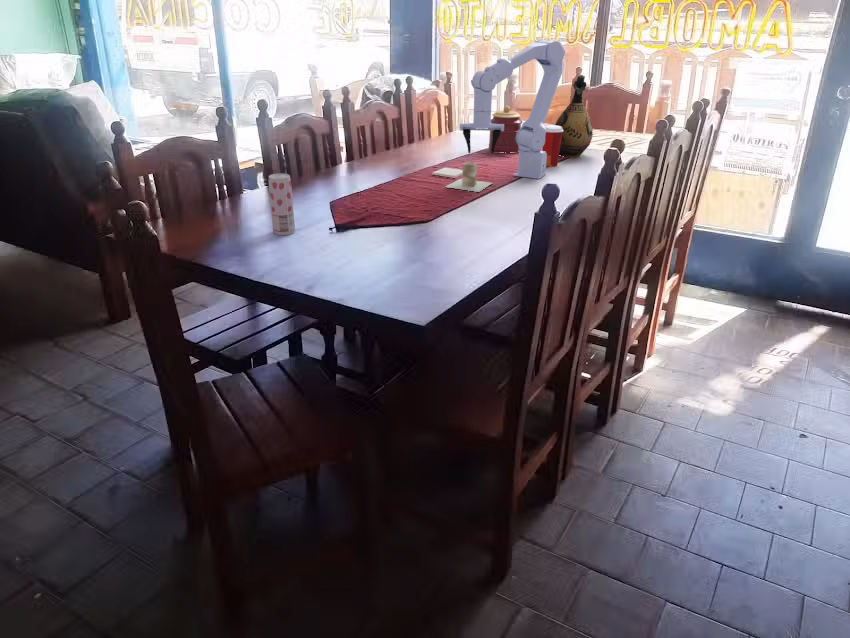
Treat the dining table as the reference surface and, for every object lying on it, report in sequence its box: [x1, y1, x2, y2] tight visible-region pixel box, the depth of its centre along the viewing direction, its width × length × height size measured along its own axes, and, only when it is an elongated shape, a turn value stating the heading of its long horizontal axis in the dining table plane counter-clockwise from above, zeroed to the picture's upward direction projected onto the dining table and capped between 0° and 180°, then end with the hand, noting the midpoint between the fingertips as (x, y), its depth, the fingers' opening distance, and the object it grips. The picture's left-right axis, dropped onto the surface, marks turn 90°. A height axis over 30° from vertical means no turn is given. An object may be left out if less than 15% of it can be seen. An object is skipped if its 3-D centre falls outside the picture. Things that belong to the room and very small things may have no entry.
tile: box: [432, 167, 463, 178], centre depth 234 cm, size 2×9×9 cm
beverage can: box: [268, 172, 296, 236], centre depth 172 cm, size 6×6×15 cm
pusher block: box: [461, 161, 478, 187], centre depth 218 cm, size 4×4×7 cm
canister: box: [488, 105, 523, 153], centre depth 267 cm, size 13×13×18 cm
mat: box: [444, 178, 494, 193], centre depth 219 cm, size 12×12×1 cm
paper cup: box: [541, 124, 563, 168], centre depth 245 cm, size 8×8×14 cm
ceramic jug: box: [554, 74, 594, 159], centre depth 258 cm, size 17×15×30 cm
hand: (480, 152), depth 222 cm, fingers open, 7 cm apart
